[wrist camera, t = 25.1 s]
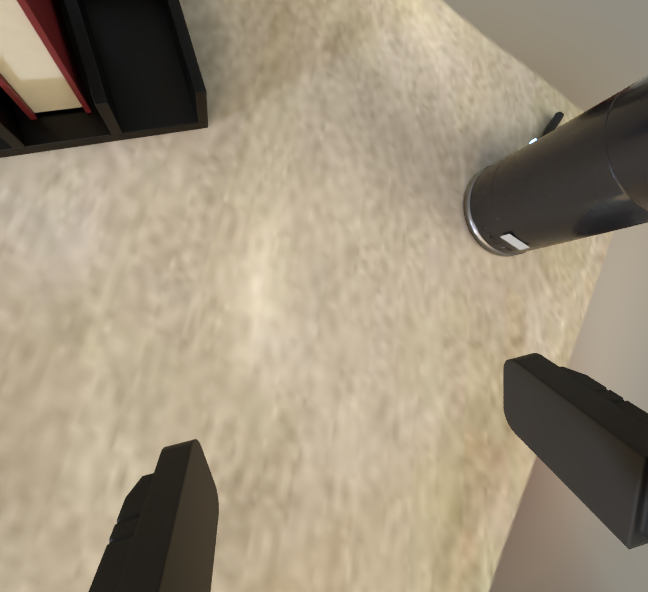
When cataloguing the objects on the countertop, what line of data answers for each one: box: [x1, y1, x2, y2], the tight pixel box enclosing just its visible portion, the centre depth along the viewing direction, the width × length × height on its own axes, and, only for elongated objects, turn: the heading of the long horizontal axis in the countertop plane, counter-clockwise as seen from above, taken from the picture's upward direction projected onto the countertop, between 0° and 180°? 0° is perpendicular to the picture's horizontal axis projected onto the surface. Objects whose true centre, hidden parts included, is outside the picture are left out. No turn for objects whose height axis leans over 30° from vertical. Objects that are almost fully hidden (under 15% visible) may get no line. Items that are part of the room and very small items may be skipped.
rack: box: [0, 0, 208, 158], centre depth 26 cm, size 14×20×5 cm
